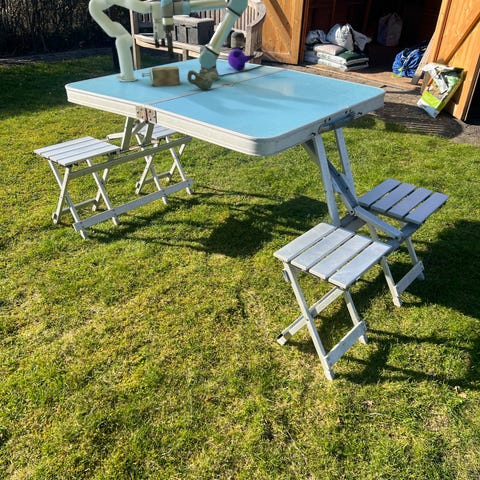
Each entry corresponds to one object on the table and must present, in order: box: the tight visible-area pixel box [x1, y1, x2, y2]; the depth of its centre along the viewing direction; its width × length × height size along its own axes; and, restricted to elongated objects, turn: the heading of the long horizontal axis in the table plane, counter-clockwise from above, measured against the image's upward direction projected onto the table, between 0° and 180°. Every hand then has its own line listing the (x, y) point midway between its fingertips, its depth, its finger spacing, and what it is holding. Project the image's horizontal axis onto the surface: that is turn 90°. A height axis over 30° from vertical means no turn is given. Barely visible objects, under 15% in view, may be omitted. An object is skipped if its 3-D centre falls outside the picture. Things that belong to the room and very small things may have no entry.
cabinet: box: [151, 66, 181, 88], centre depth 325 cm, size 19×11×11 cm, turn 103°
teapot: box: [187, 66, 218, 91], centre depth 306 cm, size 21×12×15 cm, turn 109°
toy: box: [227, 48, 258, 72], centre depth 368 cm, size 16×18×27 cm
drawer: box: [141, 69, 154, 86], centre depth 324 cm, size 23×10×9 cm, turn 103°
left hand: (160, 47), depth 329 cm, fingers open, 9 cm apart
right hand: (171, 57), depth 319 cm, fingers open, 13 cm apart
